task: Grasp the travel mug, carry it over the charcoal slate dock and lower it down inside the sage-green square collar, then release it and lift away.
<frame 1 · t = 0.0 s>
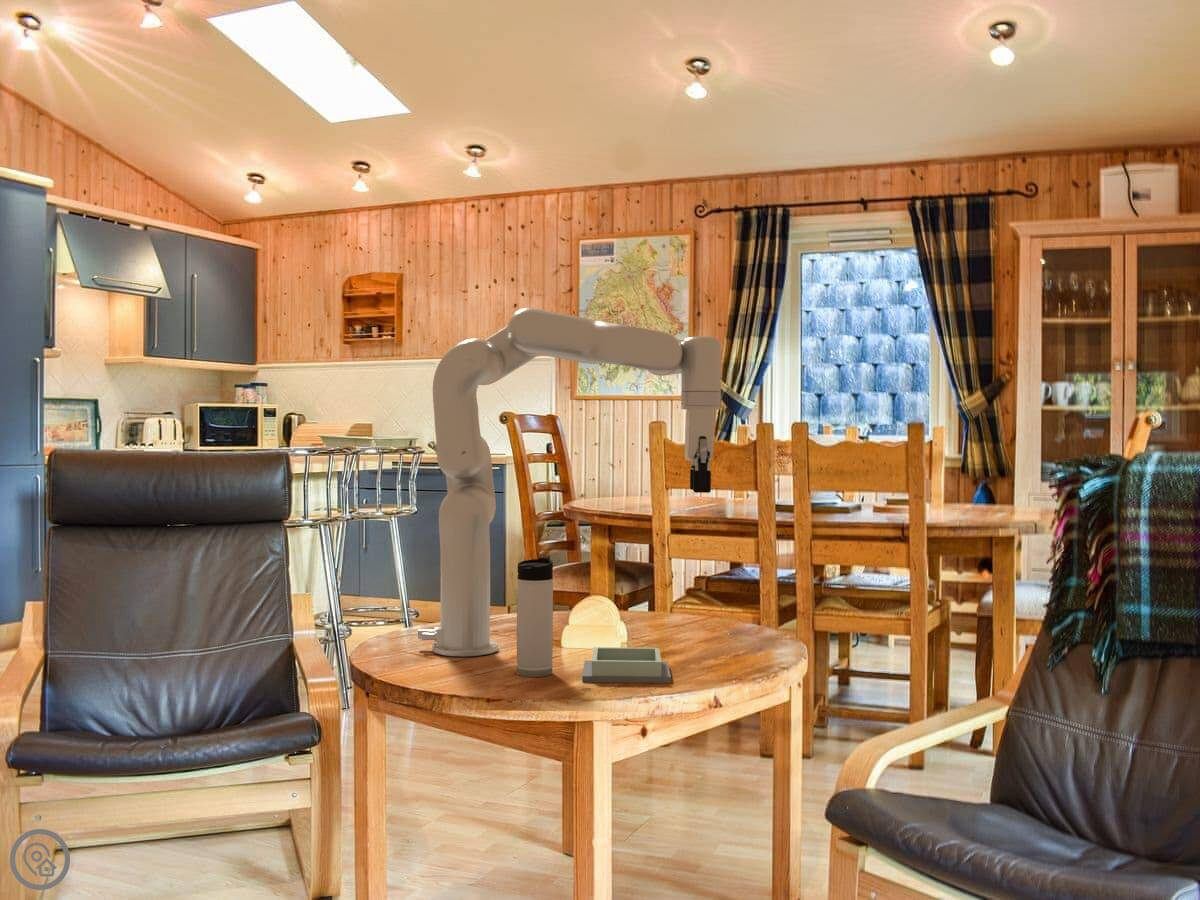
hand: (700, 491, 205), 31 cm above the table, tool pointing down, fingers open, 9 cm apart
travel mug: (535, 674, 187), on the table
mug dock: (626, 674, 187), on the table
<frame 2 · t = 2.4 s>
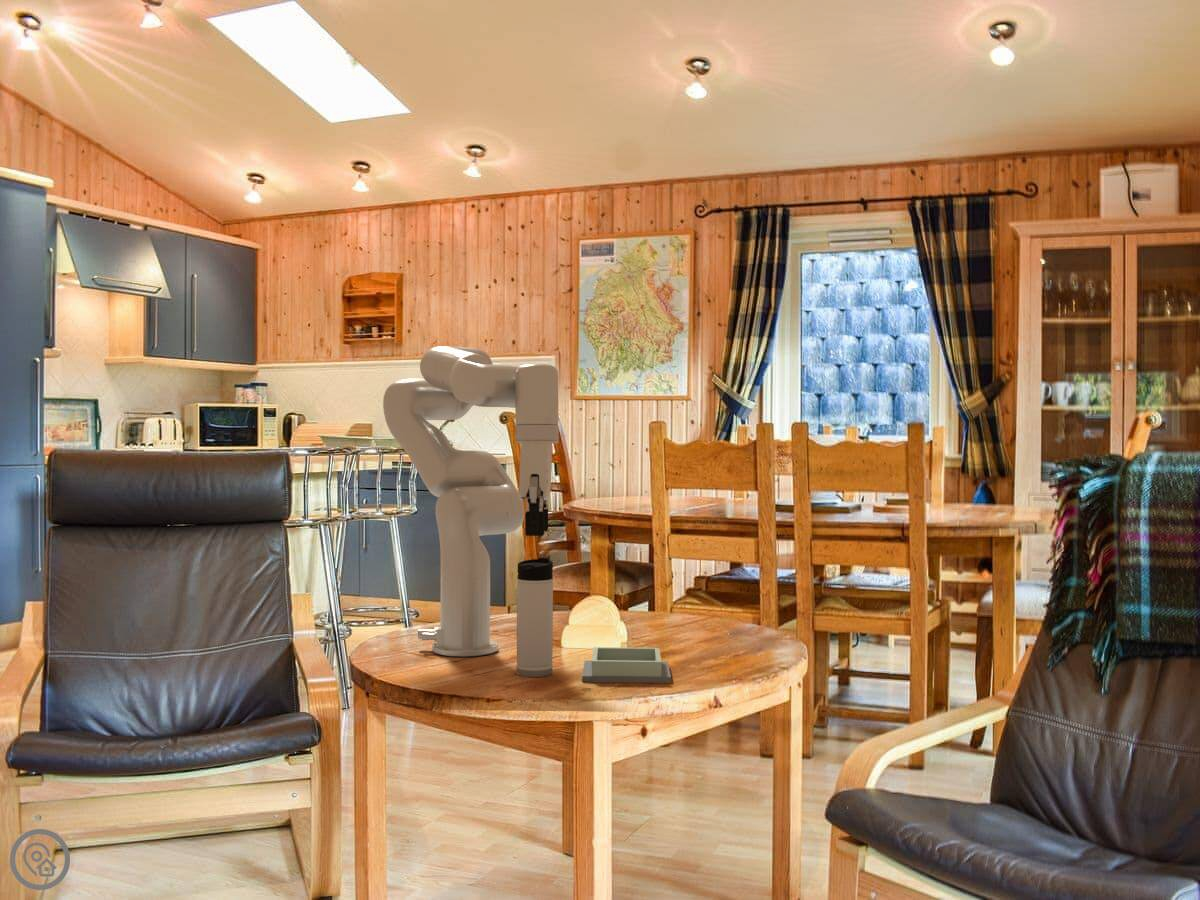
hand: (537, 533, 187), 25 cm above the table, tool pointing down, fingers open, 9 cm apart
nothing on the table moved.
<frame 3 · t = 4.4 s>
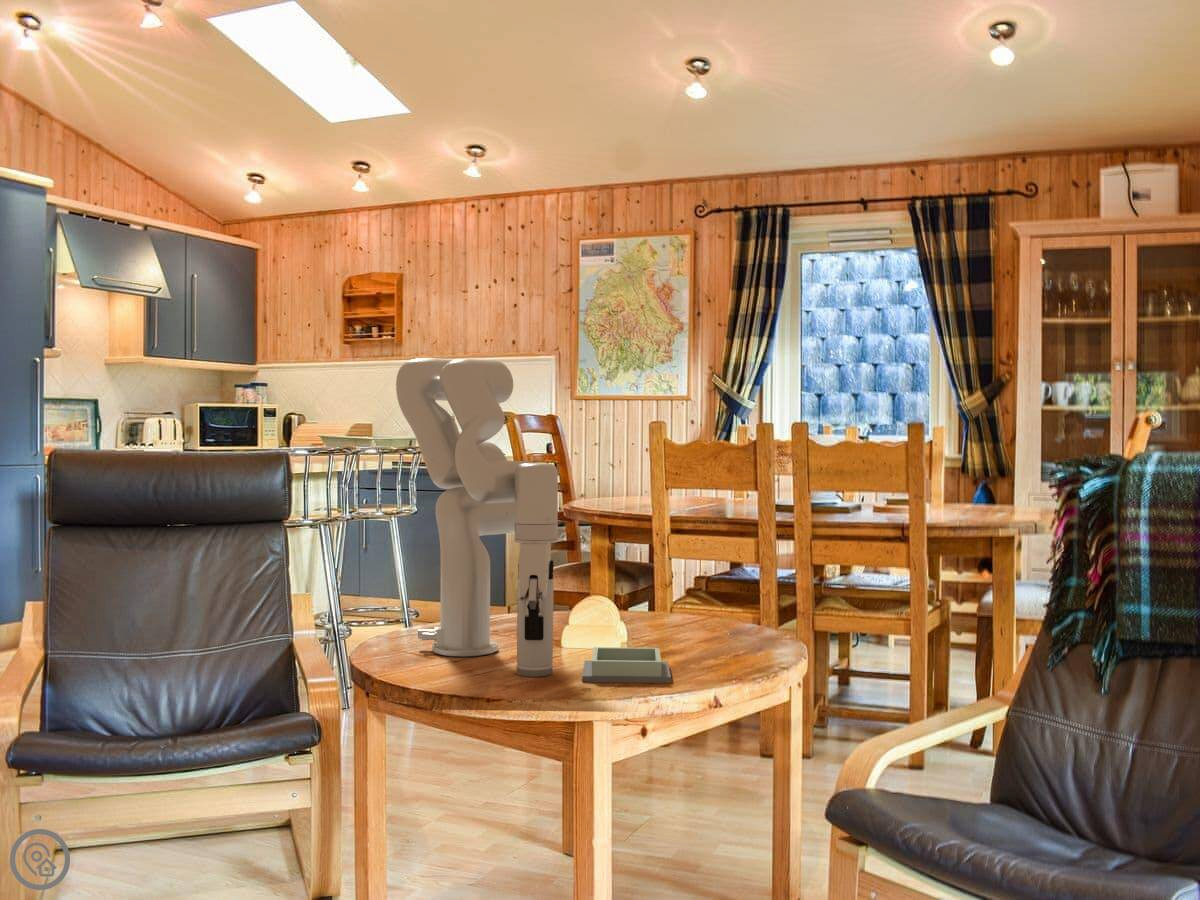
hand: (535, 635, 187), 7 cm above the table, tool pointing down, fingers closed on travel mug, 6 cm apart
travel mug: (535, 674, 187), on the table, touching gripper
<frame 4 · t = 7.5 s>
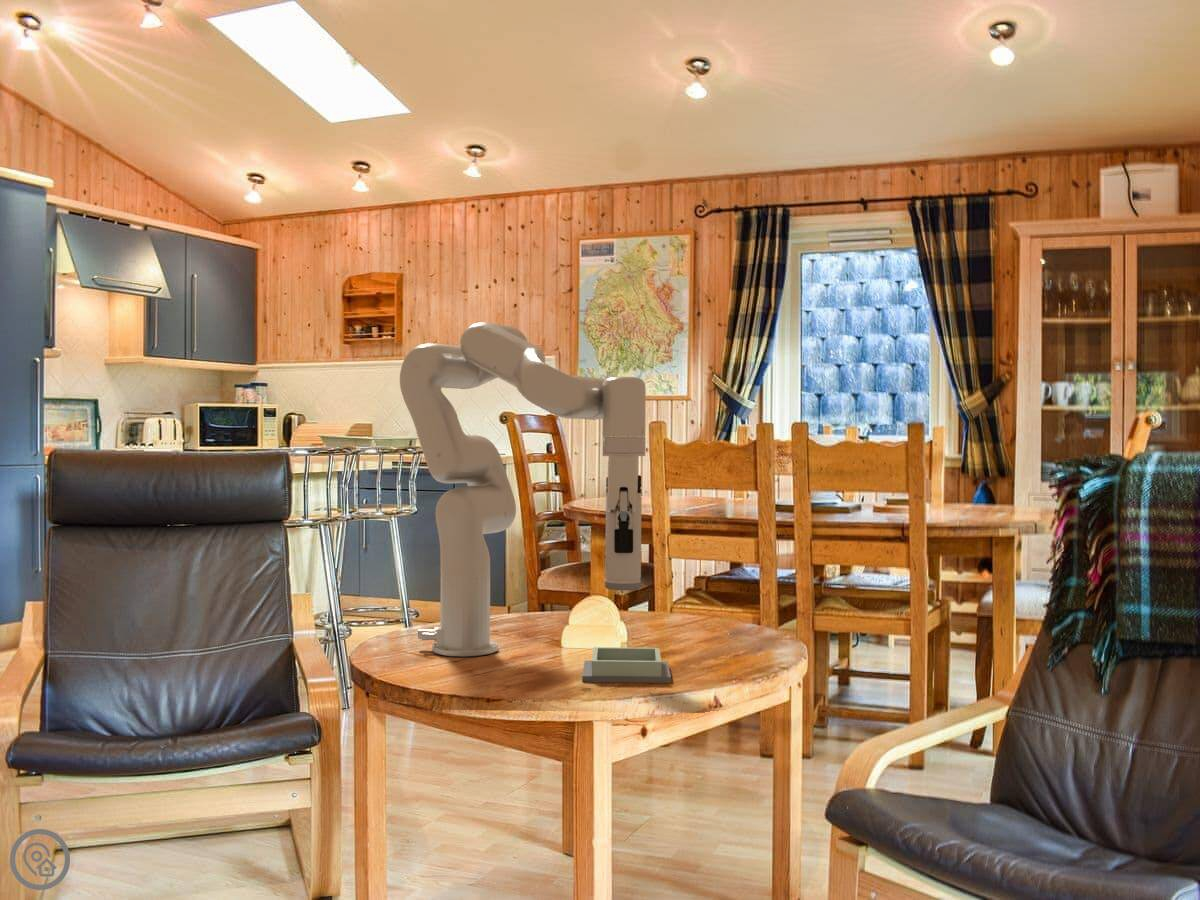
hand: (623, 549, 187), 22 cm above the table, tool pointing down, fingers closed on travel mug, 6 cm apart
travel mug: (623, 589, 187), point 15 cm above the table, touching gripper
when the fingers open (9 cm above the table, at t = 10.8 s): travel mug drops 1 cm, resting on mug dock.
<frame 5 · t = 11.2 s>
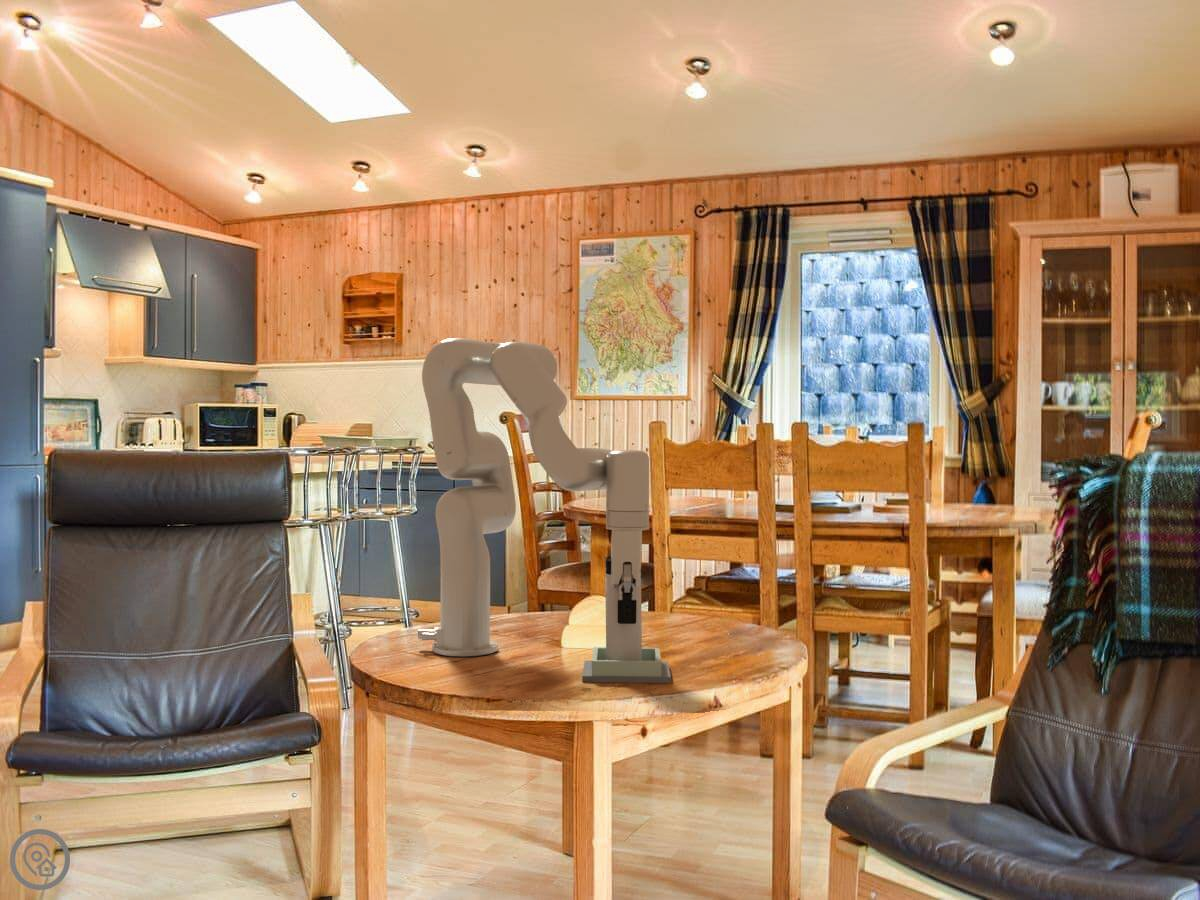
hand: (626, 618, 187), 10 cm above the table, tool pointing down, fingers open, 9 cm apart
travel mug: (624, 669, 187), point 1 cm above the table, touching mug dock
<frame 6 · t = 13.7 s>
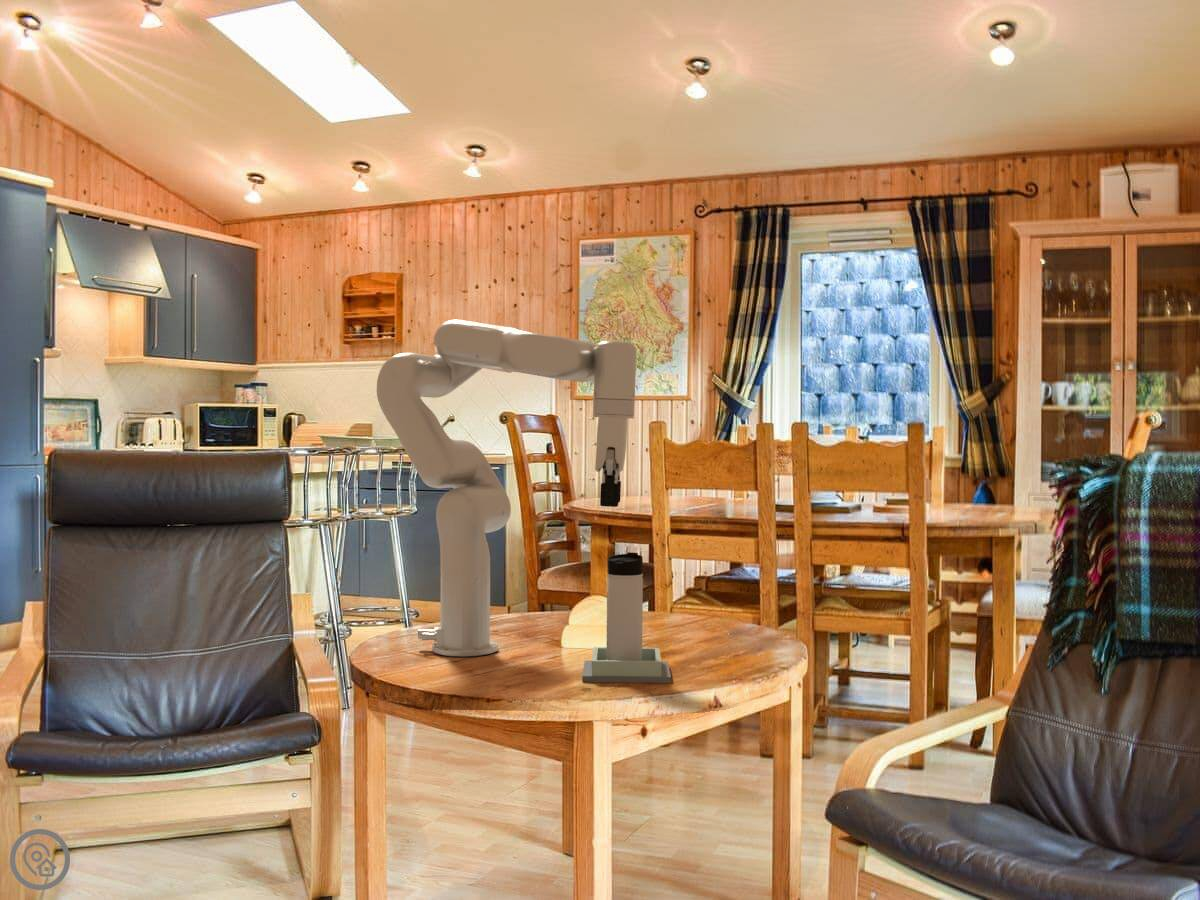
hand: (610, 504, 194), 29 cm above the table, tool pointing down, fingers open, 9 cm apart
nothing on the table moved.
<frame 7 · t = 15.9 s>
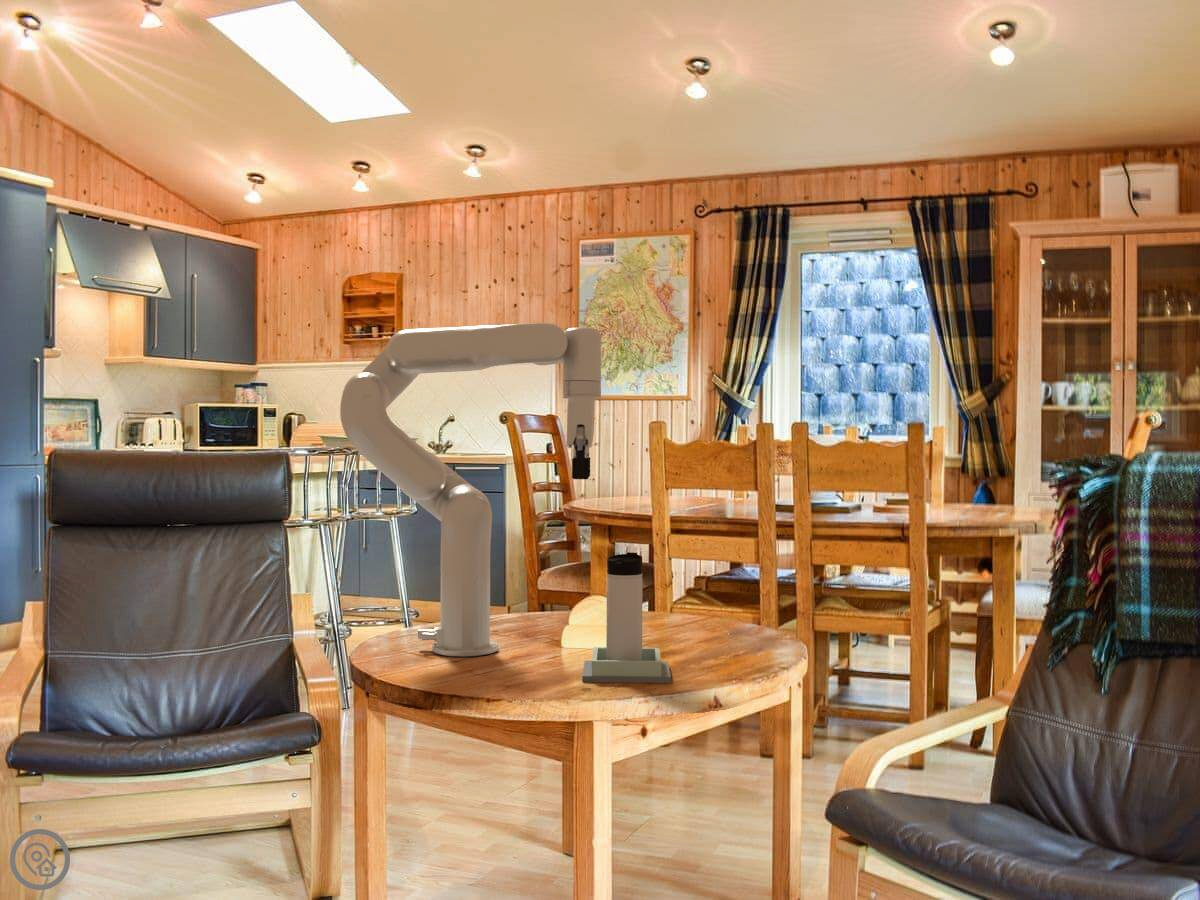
hand: (581, 478, 210), 33 cm above the table, tool pointing down, fingers open, 9 cm apart
nothing on the table moved.
at the end: travel mug 0.4 cm off-centre on the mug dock, point 0.8 cm above the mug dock's base; travel mug tilted 0°; the gripper is holding nothing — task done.
